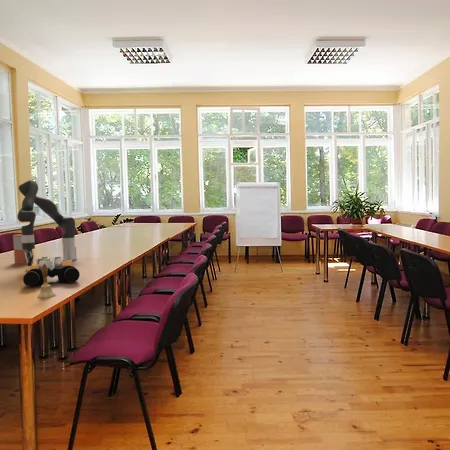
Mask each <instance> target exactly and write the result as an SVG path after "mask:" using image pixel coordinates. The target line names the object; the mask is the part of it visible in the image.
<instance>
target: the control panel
mask: <svg viewBox="0 0 450 450" xmlns="http://www.w3.org/2000/svg"><path fill="white" fill-rule="evenodd" d="M12 242H13V257H14V259H13V260H14V264H20V265H21V264H22V265H24V264H25V265H26V264H27V263H28V262H27V261H26V259H25V254H24V253H25V250H23V249H22V233H21V234H19V233H18V234H13V235H12ZM33 263H34V261H33V262H32V264H33Z"/></svg>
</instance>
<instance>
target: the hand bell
mask: <svg viewBox="0 0 450 450" xmlns="http://www.w3.org/2000/svg"><path fill="white" fill-rule="evenodd" d="M42 274H43V277H44V284H43V285H41V286H40V291H39V294H38V295H37V299H47V298H52V297H55V296H56V293H55V292H54V291H53V290H52V289H53V288H52V285H51V284H49V283H48V277H47V274H48V269H47V266H46V264H43V267H42Z"/></svg>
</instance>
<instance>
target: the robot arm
mask: <svg viewBox="0 0 450 450" xmlns="http://www.w3.org/2000/svg"><path fill="white" fill-rule="evenodd" d="M18 190H19V192H20V194H22V195H23V196H24V198H23V200H22V201H21V202H22V203H21V208H20V209H19V211H18V212H17V216H16V217H17V218H16V219H17V220H18V221H19V222H21V223H29V224H26V225H22V226H21V231H20V232H21V234H22V249H23V250H25V253H24V254H25V259H26V261H27V262H28V263H27V266H31V265H33V263H34V255H35V254H34V252H33V250H35V249H36V244H35V242H36V241H35V235H34V233H35V232H34V231H35V230H34V225H35V221H36V215H37V214H36V213H35V211H34V205H36V206H37V207H38V208H39V209H40V210H42V211H43V212H44V213H45V214H46V215H47V216H49V218H51V219H52V220H53V221H54V222H55V223H56V224H57V226H58V227H59V228H61V229H62V230H65V232H64V233H62V234H61V244H62V245H61V247H62V248H61V249H62V261H65V260H72V261H73V260H74V261H75V260H77V259H78V258H77V257H78V256H77V247H76V241H75V240H76V239H75V237H76V236H75V235H76V222H75V219H74V218H73V217H71V216H63V215H62V214H61V213H60V212H59V210H58V206H57V205H56V204H55V202H53V201H52V200H51V199H49V198H46V197H43V196H38V195H37V194H38V191H39V186H38V184H37V182H36V181H35V180H33V179H30V180H27V181H24V182H23V183H21V184H20V185H19V186H18ZM32 262H33V263H32ZM27 266H26V267H27Z"/></svg>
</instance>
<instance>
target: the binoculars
mask: <svg viewBox="0 0 450 450" xmlns="http://www.w3.org/2000/svg"><path fill="white" fill-rule="evenodd" d="M80 275H81V274H80V271H79V269H78V268H76V267H75V266H73V265H69V266H64V267H61V268H53V269H50V268H48V274H47V278H48V277H49V278H55V277H57V280H58V281H59V282H60V283H64V284H71V283H74V282H76V281H78V280H79V278H80ZM22 281H23V283H24V284H25V286H27V287H34V288H35V287H41V286H42V285H43V284H44V277H43V274H42V269H31V270H29V271H28V272H27V271H26V273H25V274H24V275H23V279H22Z"/></svg>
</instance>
